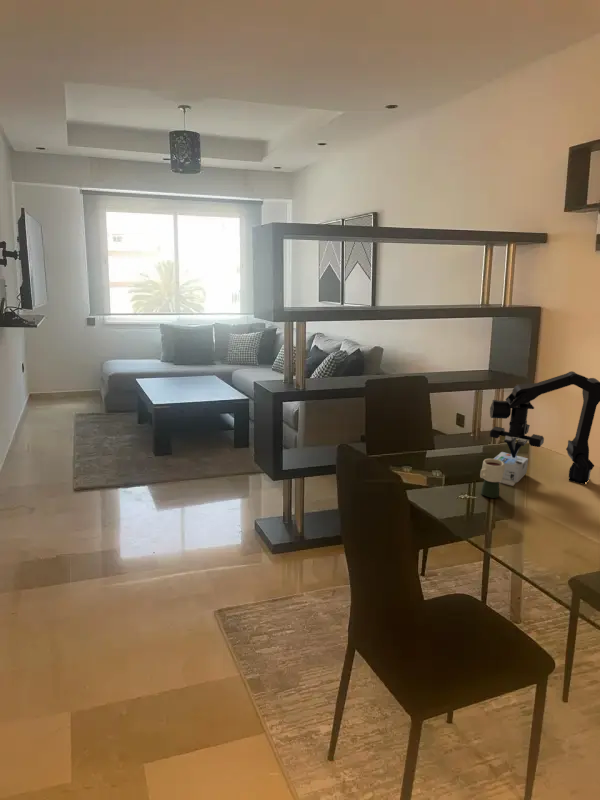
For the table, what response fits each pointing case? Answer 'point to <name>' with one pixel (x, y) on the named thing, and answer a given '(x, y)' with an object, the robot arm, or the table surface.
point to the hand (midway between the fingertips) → (513, 457)
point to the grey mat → (507, 482)
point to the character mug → (491, 477)
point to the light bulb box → (513, 466)
